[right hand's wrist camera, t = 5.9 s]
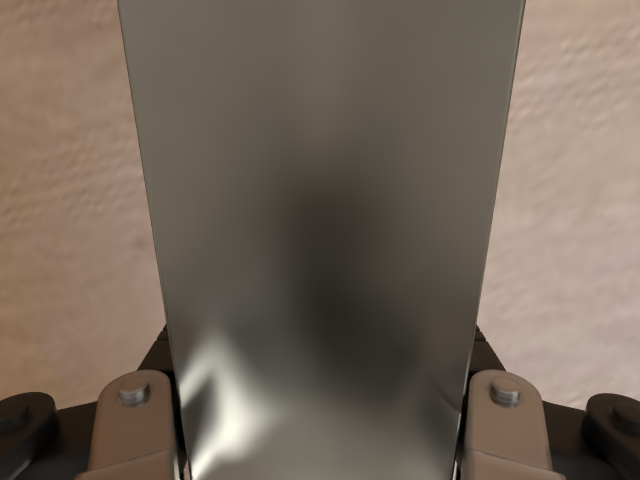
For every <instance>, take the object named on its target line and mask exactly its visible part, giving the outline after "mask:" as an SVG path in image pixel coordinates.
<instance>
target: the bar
mask: <svg viewBox="0 0 640 480" xmlns="http://www.w3.org/2000/svg"><path fill="white" fill-rule="evenodd" d="M525 2H526V0H117V4H118V11H119V17H120V24H121V30H122V37H123V43H124V50H125V56H126V63H127V69H128V76H129V82H130V89H131V95H132V102H133V108H134V115H135V121H136V128H137V134H138V141H139V147H140V154H141V160H142V167H143V173H144V180H145V186H146V193H147V199H148V206H149V212H150V219H151V225H152V232H153V238H154V245H155V251H156V258H157V264H158V271H159V277H160V284H161V290H162V297H163V303H164V310H165V316H166V323H167V329H168V336H169V342H170V349H171V355H172V362H173V368H174V375H175V381H176V388H177V394H178V401H179V407H180V414H181V420H182V427H183V433H184V440H185V446H186V453H187V459H188V466H189V472H190V479H191V480H452V479H453V473H454V466H455V459H456V453H457V446H458V440H459V433H460V427H461V420H462V414H463V407H464V401H465V394H466V388H467V381H468V375H469V368H470V361H471V355H472V348H473V342H474V335H475V329H476V322H477V316H478V309H479V303H480V296H481V290H482V283H483V277H484V270H485V263H486V257H487V250H488V244H489V237H490V231H491V224H492V218H493V211H494V205H495V198H496V192H497V185H498V178H499V172H500V165H501V159H502V152H503V146H504V139H505V133H506V126H507V120H508V113H509V107H510V100H511V94H512V87H513V80H514V74H515V67H516V61H517V54H518V48H519V41H520V35H521V28H522V22H523V15H524V9H525Z"/></svg>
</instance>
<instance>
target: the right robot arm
mask: <svg viewBox="0 0 640 480" xmlns="http://www.w3.org/2000/svg"><path fill="white" fill-rule="evenodd" d="M455 460H456V462H457V467H456V473H455V480H640V402H639V401H637V400H635V399H632V398H629V397H626V396H622V395H618V394H611V393H602V394H597V395H594V396H592V397H591V398H590V399H589V400H588V402H587V405H586V409H585V411H584V410H579V409H575V408H570V407H566V406H561V405H557V404H553V403H549V402H546V401H543V400H542V398H541V395H540V393H539V392H538V390H537V389H536V388H535V387H534V386H533V385H532V384H531V383H529V382H528V381H527V380H525V379H523V378H522V377H520V376H517V375H515V374H512V373H510V372H507V371H506V370H505V368H504V367H503V365H502V363H501V362H500V360H499V359H498V357H497V356H496V354H495V353H494V351H493V349H492V348H491V346H490V345H489V343H488V342H487V341H486V338H485V337H484V335H483V334H482V332H480V329H479V327H478V326H477V324H476V329H475V335H474V342H473V348H472V355H471V361H470V368H469V375H468V381H467V388H466V394H465V401H464V407H463V414H462V420H461V427H460V433H459V440H458V446H457V453H456V459H455ZM186 462H187V453H186V446H185V440H184V433H183V427H182V420H181V414H180V407H179V401H178V394H177V388H176V381H175V375H174V368H173V362H172V355H171V349H170V342H169V336H168V329H167V323H166V325H165V326H164V328H163V331H161V333H160V334H159V336H158V337H157V341H155V342H154V344H153V345H152V347H151V349H150V350H149V352H148V353H147V355H146V356H145V358H144V360H143V361H142V363H141V364H140V366H139V368H138V369H137V371H134V372H130V373H128V374H125V375H123V376H120V377H118V378H117V379H115V380H113V381H112V382H111V383H109V384H108V385H107V386H106V387H105V388H104V389H103V390H102V392H101V393H100V395H99V398H98V401H95V402H92V403H88V404H83V405H79V406H74V407H70V408H65V409H61V410H57V409H56V406H55V402H54V400H53V398H52V397H51V396H50V395H48V394H46V393H42V392H29V393H23V394H18V395H15V396H12V397H9V398H6V399H4V400H2V401H0V480H185V473H184V468H185V465H186Z"/></svg>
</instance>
